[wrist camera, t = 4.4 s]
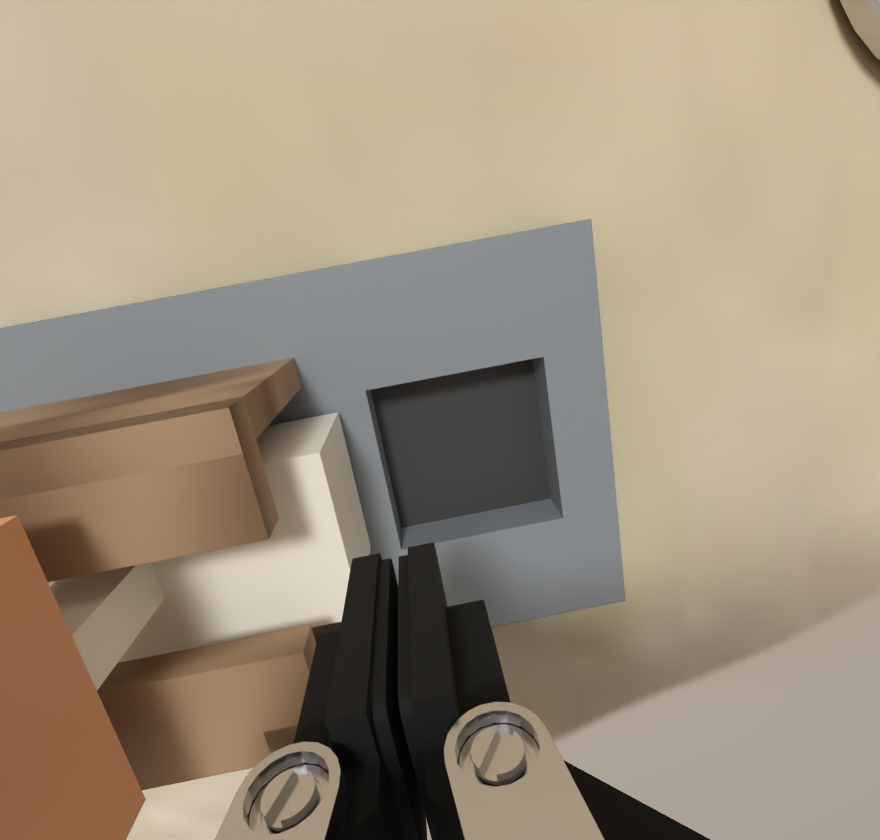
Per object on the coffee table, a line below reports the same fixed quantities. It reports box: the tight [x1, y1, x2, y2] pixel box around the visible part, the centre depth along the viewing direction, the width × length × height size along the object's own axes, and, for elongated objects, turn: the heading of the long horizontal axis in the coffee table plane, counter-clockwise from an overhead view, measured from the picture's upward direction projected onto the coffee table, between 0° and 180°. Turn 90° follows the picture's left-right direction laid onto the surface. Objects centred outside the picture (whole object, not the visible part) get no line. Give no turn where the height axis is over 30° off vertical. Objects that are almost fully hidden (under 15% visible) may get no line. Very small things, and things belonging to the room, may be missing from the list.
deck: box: [0, 219, 625, 627], centre depth 19 cm, size 30×14×2 cm, turn 100°
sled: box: [0, 412, 371, 840], centre depth 13 cm, size 12×7×10 cm, turn 100°
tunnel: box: [0, 357, 341, 790], centre depth 15 cm, size 10×9×6 cm
